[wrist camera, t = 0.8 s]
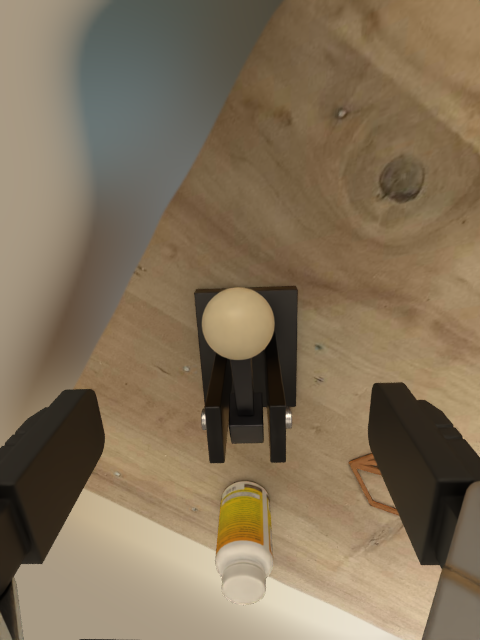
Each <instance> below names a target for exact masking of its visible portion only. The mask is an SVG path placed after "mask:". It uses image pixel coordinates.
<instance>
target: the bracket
mask: <svg viewBox="0 0 480 640" xmlns="http://www.w3.org/2000/svg"><path fill="white" fill-rule="evenodd" d="M226 289H229V288H222V289H196V291H195V293H194V295H195V306H196V317H197V327H198V338H199V348H200V359H201V370H202V380H203V391H204V402H205V409H203V410H202V414H201V425H202V429H203V430H207V440H208V450H209V461H210V463H224V462H225V453H226V443H227V432H228V422H229V394H230V393H234V386H233V378H232V371H231V363H230V359H228V358H225V357H223V356H221V355H219V354H218V353H216V352H215V351H214V350H213V349H212V348H211V347H210V346H209V345H208V343H207V341H206V339H205V337H204V334H203V330H202V317H203V313H204V310H205V308H206V306H207V304H208V303H209V301H210V300H211V299H212V298H213V297H214V296H215V295H217V294H218V293H219V292H221V291H223V290H226ZM247 289H251V290H253V291H255V292H257V293H258V294H260V295H261V296H262V297H263V298H264V299H265V300H266V301H267V302H268V304H269V305H270V307H271V309H272V312H273V315H274V322H275V326H274V332H273V336H272V338H271V340H270V342H269V344H268V345H267V346H266V348H265V349H264V350H263V351H262V352H260V353H259V354H257V355H256V356H254V357H252V369H253V389H254V393H262V401H263V407H267V416H268V431H269V446H270V461H271V463H277V462H286V428H292V412H291V407H296V367H297V294H298V290H297V287H296V286H281V287H252V288H247Z"/></svg>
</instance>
